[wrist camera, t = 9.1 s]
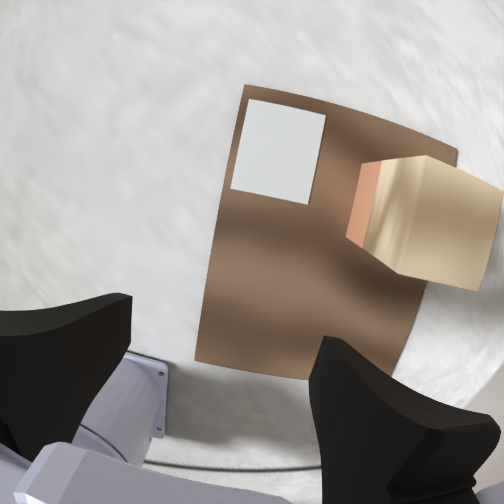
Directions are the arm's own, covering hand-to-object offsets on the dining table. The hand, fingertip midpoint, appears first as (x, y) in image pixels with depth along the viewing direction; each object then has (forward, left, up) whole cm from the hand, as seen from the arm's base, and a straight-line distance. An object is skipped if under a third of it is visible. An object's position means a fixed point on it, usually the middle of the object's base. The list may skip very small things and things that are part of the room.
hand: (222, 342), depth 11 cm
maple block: (+6, -9, -7) cm, 13 cm away
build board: (+2, -6, -10) cm, 12 cm away
